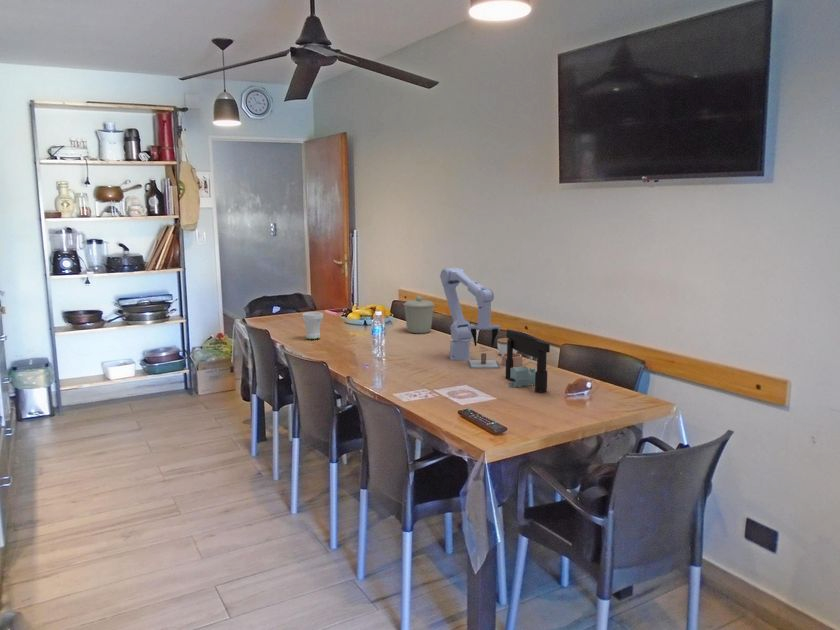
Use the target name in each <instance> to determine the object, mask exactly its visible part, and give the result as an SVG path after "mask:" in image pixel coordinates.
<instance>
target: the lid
mask: <svg viewBox="0 0 840 630" xmlns="http://www.w3.org/2000/svg"><path fill="white" fill-rule="evenodd" d="M468 361H469V362H470V365H471V368H489V369H499V368H498V365H497V363H496V361H497V360H496V359H495V360H494V359H493V360H491V359H490V360H489V359H487V353H485V352H482V353H480V359H478V360H475V359H474V360H473V359H471V360H468Z"/></svg>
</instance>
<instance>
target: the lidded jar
mask: <svg viewBox="0 0 840 630" xmlns="http://www.w3.org/2000/svg"><path fill="white" fill-rule="evenodd" d="M508 339H509V338H507V337H502V338H498V339H497V340H496V344H497V345H496V346H497V351H498V353H499V354H500V355H501V354H505V353H507V340H508ZM518 352H519V351H517V350H515V349H513V353H516V354H518Z"/></svg>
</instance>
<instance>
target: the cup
mask: <svg viewBox="0 0 840 630" xmlns="http://www.w3.org/2000/svg"><path fill="white" fill-rule="evenodd" d="M301 316H302V320H303V322H304V325H305V329H306V331H305V332H306V333H305V338H306V340H308V339H311V340H313V339H316V340H318V339H317V338H320V339H321V330H320V329H321V325H322V320H323V318H324V313H323V312H320V311H308V312H303V313H302V314H301Z"/></svg>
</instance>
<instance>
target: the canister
mask: <svg viewBox="0 0 840 630" xmlns="http://www.w3.org/2000/svg"><path fill="white" fill-rule="evenodd" d="M435 305H436V304H435V303H434V302H433V301H431V300H427V299H425V300H424V299H423V297H422V296H421V295H417V296H416V297H415V299H411V300H407V301H406V302H404V303H403V307H404V313H405V315H404V316H405V323H406V328H407V331H408V332H409V333H411V334H427V333H429V332H430V331H431V329H432V323H433V316H434V308H435V307H434V306H435Z"/></svg>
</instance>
